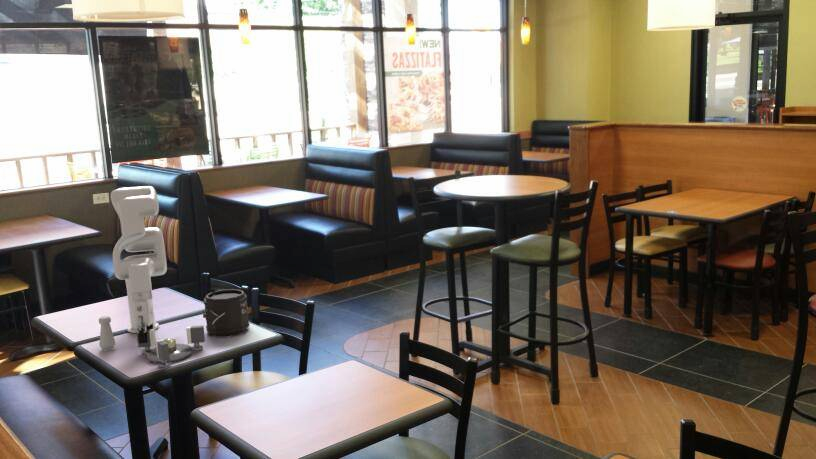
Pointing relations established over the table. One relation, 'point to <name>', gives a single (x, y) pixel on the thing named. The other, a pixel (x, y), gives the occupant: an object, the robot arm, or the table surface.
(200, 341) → the knob near left
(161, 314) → the table surface
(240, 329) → the wooden barrel
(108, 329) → the salt shaker
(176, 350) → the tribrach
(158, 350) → the knob front
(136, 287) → the robot arm
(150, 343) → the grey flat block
